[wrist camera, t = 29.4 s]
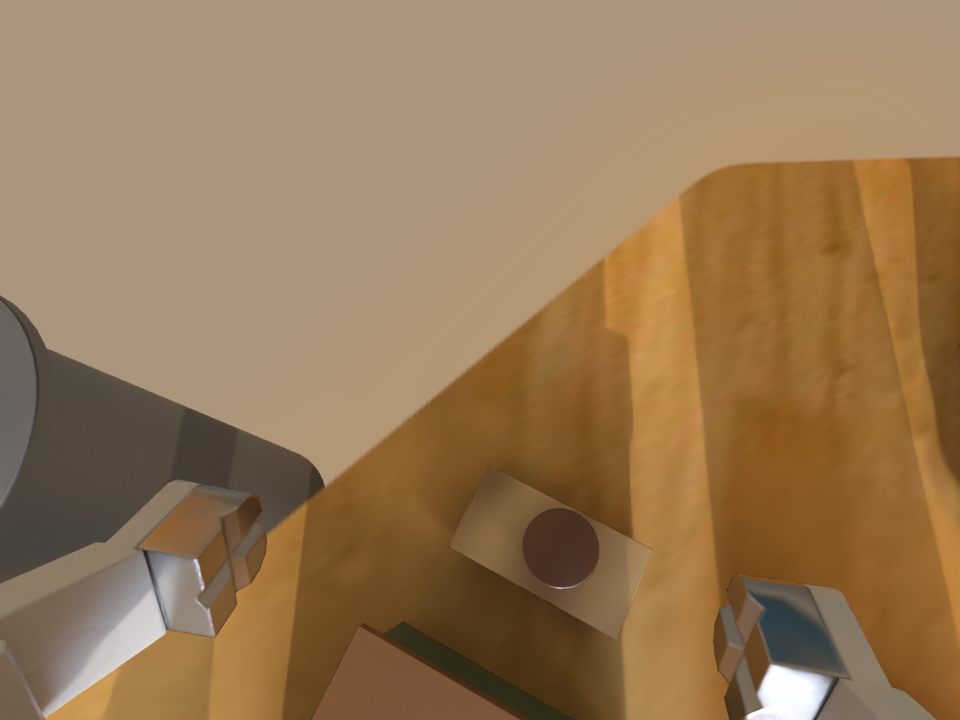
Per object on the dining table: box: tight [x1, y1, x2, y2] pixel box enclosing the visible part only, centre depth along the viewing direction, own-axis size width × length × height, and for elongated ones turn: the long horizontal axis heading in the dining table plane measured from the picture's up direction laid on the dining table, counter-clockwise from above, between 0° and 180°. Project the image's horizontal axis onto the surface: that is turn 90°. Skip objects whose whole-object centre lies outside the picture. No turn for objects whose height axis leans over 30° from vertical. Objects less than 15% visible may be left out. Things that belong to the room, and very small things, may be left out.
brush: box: [448, 466, 653, 640], centre depth 27 cm, size 10×5×14 cm, turn 63°
